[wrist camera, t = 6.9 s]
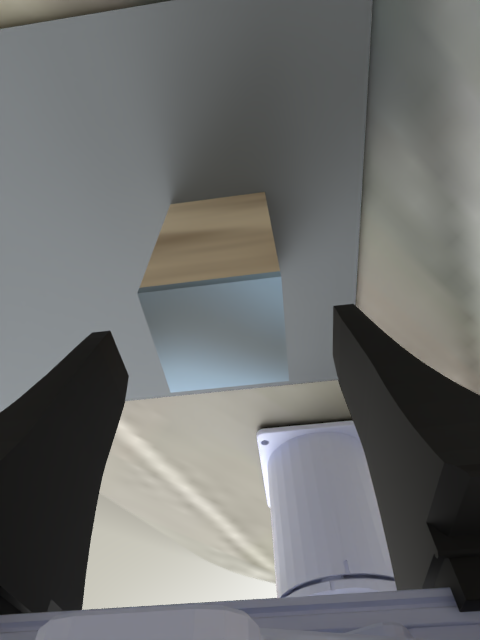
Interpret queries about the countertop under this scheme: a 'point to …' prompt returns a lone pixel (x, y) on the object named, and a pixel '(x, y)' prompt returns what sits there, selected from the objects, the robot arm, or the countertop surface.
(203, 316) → the beech block
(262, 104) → the rubber mat
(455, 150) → the countertop surface
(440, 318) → the countertop surface
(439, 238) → the countertop surface
